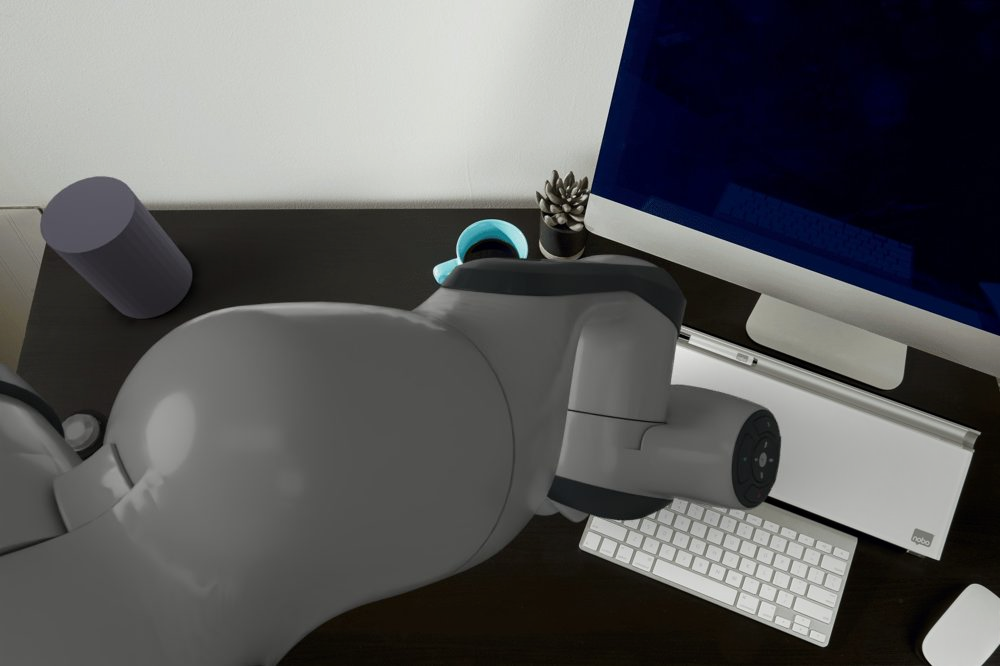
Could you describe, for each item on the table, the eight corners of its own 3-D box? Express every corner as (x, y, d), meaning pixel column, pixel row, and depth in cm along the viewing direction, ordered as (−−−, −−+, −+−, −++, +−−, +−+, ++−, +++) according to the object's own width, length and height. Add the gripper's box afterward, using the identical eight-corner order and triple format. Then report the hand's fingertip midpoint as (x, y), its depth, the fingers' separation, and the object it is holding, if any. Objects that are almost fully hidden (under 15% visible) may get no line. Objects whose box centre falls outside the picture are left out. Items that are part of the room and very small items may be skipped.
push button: (83, 474, 81) (27, 445, 72) (107, 430, 84) (55, 397, 75) (135, 488, 80) (84, 461, 71) (158, 444, 83) (111, 412, 74)
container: (187, 316, 90) (126, 248, 77) (105, 323, 90) (30, 257, 77) (198, 247, 95) (141, 172, 82) (120, 254, 95) (51, 180, 82)
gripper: (658, 316, 66) (566, 312, 78) (524, 494, 59) (446, 461, 71) (692, 362, 69) (598, 353, 80) (568, 539, 62) (485, 500, 74)
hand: (526, 405), depth 76 cm, fingers open, 8 cm apart
